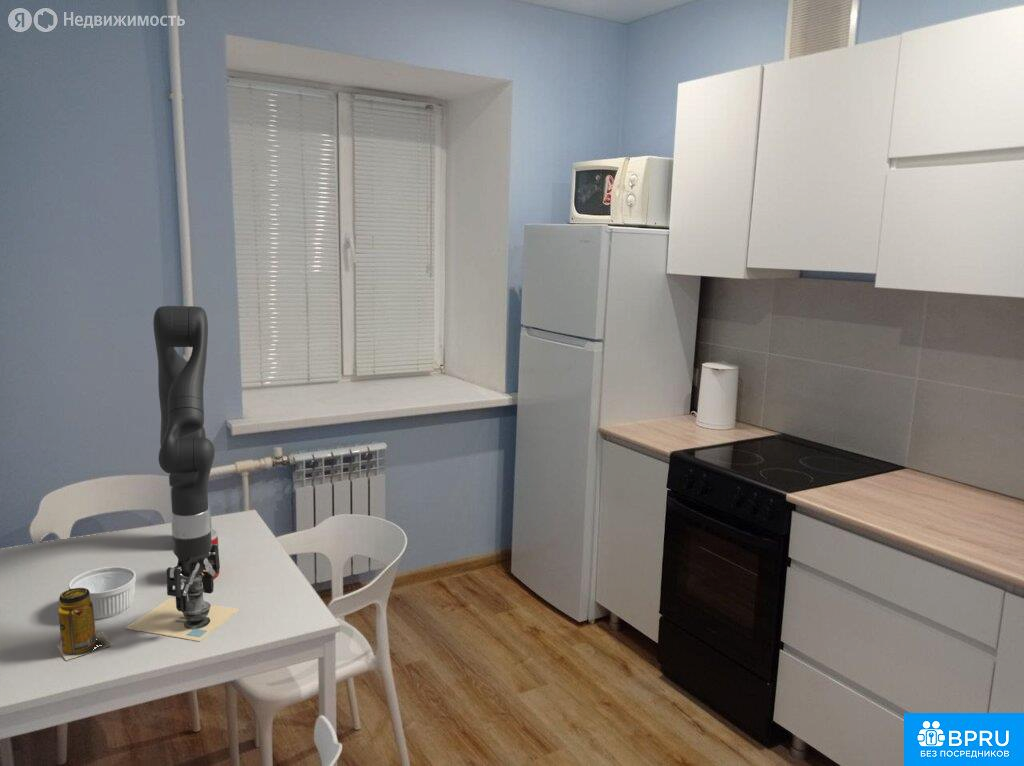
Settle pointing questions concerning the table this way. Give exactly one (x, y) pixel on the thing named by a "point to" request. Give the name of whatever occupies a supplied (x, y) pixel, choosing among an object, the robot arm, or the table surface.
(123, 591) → the ramekin
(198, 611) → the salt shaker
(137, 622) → the letter
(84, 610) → the condiment
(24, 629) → the table surface
